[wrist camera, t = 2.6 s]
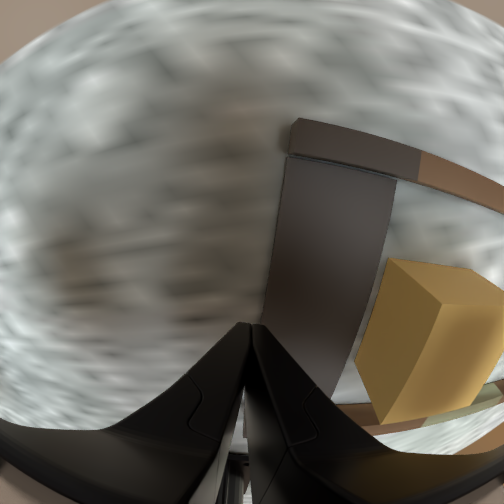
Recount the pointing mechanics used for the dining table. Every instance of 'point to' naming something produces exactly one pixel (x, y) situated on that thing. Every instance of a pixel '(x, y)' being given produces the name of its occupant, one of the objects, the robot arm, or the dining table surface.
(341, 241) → the frame
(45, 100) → the dining table surface
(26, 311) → the dining table surface
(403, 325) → the block
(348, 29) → the dining table surface
